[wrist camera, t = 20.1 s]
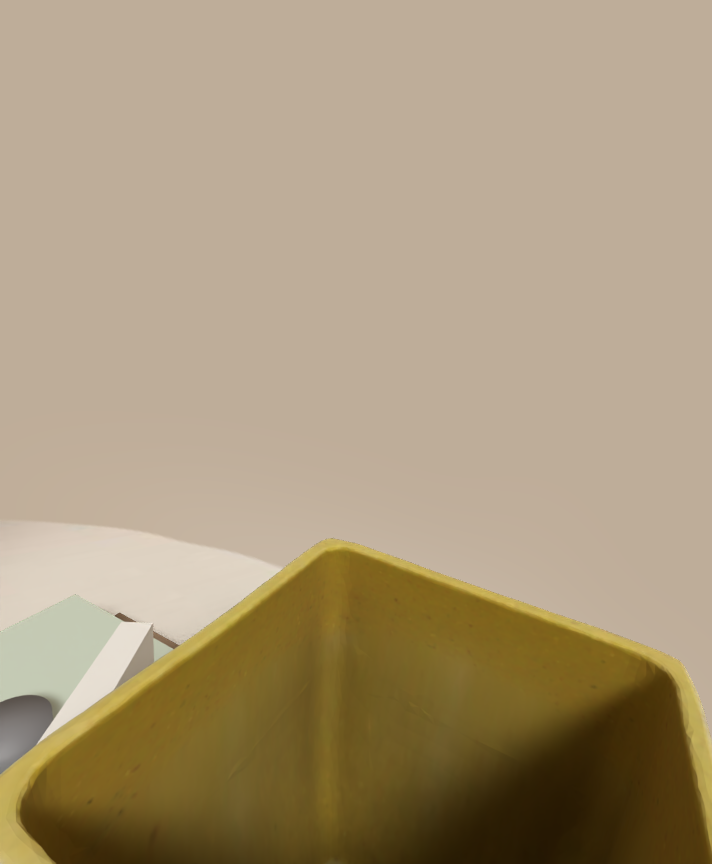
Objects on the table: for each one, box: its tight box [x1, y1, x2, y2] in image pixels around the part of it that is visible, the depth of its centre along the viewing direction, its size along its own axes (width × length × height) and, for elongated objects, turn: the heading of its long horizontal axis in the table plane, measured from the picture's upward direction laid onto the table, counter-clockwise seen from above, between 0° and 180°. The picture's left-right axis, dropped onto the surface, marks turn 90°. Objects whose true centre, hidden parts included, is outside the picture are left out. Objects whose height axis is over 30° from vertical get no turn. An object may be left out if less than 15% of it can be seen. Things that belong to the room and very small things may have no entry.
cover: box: [0, 594, 173, 774], centre depth 15 cm, size 12×12×3 cm
